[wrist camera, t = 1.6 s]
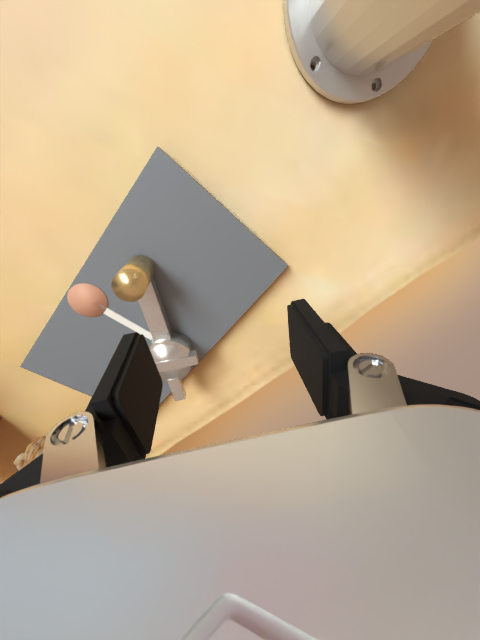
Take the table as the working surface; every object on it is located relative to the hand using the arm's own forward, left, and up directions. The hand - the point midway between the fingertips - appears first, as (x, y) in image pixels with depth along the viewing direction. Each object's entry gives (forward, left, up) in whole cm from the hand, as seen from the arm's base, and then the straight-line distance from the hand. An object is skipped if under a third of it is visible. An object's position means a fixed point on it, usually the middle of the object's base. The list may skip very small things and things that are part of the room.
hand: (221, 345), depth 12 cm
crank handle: (+10, +1, -16) cm, 19 cm away
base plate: (+10, -1, -18) cm, 20 cm away
